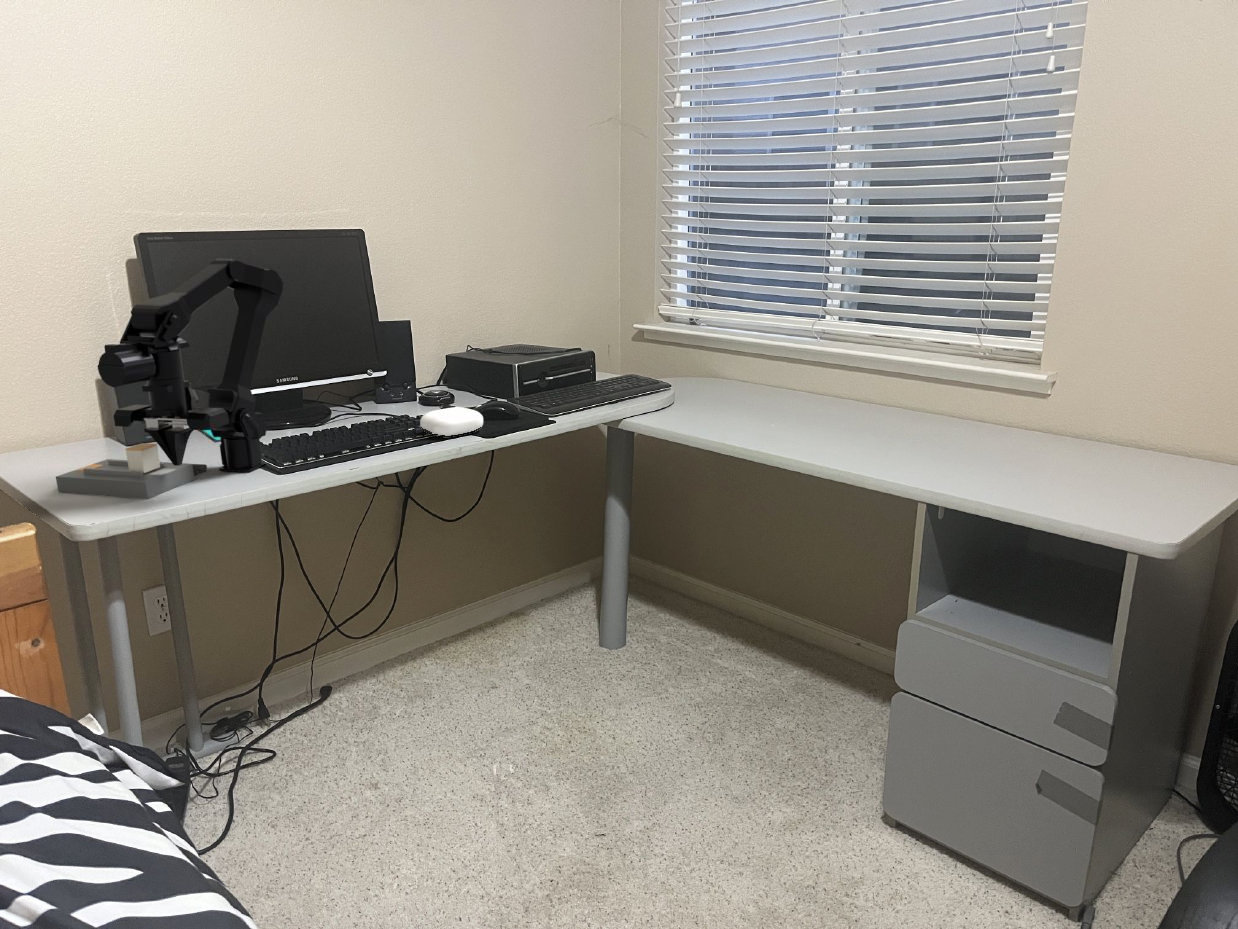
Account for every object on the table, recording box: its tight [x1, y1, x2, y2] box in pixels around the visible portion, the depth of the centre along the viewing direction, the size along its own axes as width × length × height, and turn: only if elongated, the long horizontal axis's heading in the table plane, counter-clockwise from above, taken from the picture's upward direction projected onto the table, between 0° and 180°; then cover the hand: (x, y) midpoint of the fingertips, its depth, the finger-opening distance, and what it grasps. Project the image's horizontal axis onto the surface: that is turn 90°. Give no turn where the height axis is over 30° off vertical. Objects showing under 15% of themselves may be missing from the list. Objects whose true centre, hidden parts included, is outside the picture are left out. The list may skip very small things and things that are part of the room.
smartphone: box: [199, 430, 221, 443], centre depth 196 cm, size 7×1×15 cm
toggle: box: [125, 442, 161, 473], centre depth 154 cm, size 3×4×4 cm
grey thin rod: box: [191, 463, 208, 473], centre depth 166 cm, size 14×1×1 cm, turn 82°
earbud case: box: [419, 406, 484, 436], centre depth 195 cm, size 10×13×5 cm
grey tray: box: [55, 458, 195, 500], centre depth 156 cm, size 18×12×4 cm, turn 78°
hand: (177, 465), depth 153 cm, fingers closed
